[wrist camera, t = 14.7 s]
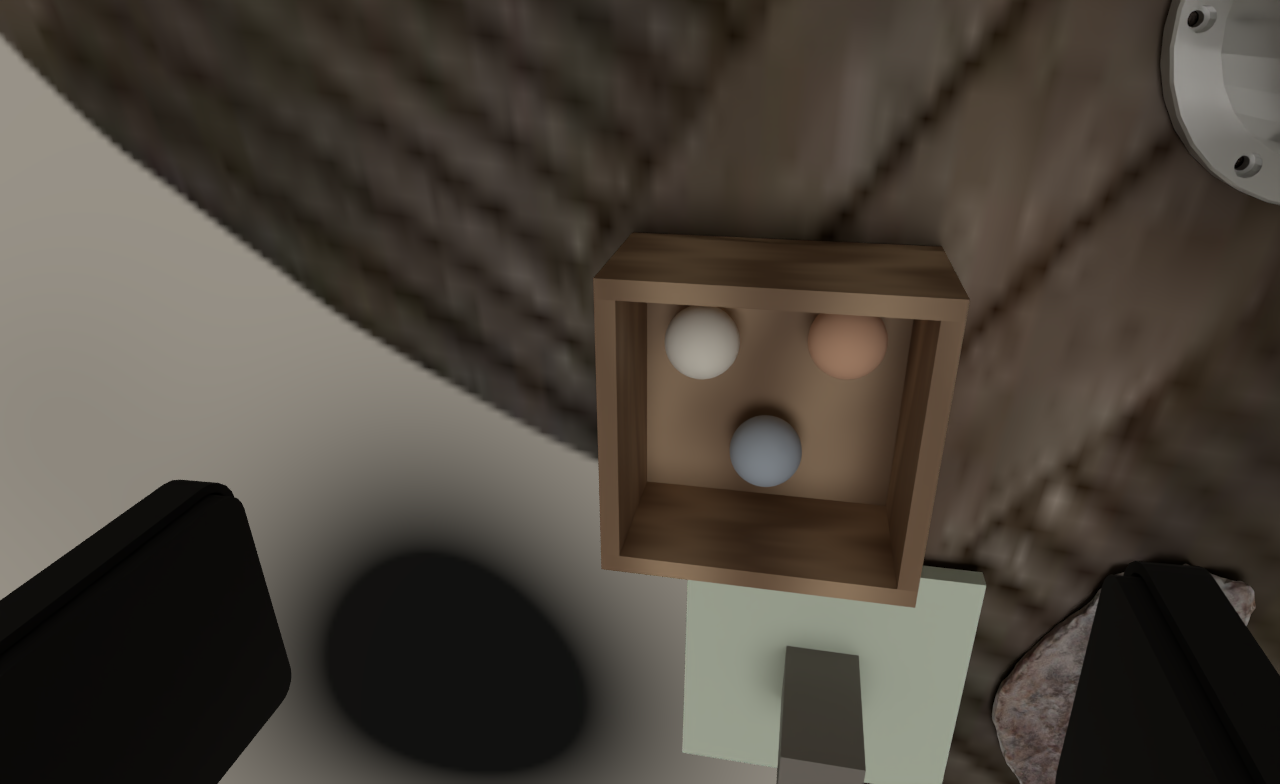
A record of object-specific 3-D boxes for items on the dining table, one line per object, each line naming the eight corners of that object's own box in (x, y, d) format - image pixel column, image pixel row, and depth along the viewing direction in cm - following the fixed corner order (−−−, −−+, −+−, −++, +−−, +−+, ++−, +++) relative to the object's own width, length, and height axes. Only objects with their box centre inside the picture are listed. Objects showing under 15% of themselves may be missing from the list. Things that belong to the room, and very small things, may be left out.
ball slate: (805, 406, 37) (804, 439, 34) (799, 467, 38) (798, 504, 35) (734, 400, 37) (727, 432, 34) (731, 461, 39) (724, 496, 36)
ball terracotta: (889, 293, 34) (896, 319, 31) (880, 364, 35) (885, 395, 32) (811, 289, 34) (810, 314, 32) (805, 359, 36) (803, 388, 33)
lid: (982, 572, 39) (1019, 698, 32) (937, 779, 45) (959, 924, 37) (691, 538, 41) (664, 648, 34) (684, 738, 47) (660, 867, 40)
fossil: (1388, 583, 37) (1038, 513, 40) (1439, 626, 34) (1053, 547, 37) (1257, 866, 42) (958, 785, 46) (1289, 927, 39) (965, 835, 42)
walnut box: (941, 246, 33) (970, 299, 27) (900, 512, 39) (915, 608, 33) (632, 232, 36) (593, 278, 29) (634, 485, 41) (601, 568, 35)
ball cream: (744, 296, 35) (738, 321, 32) (740, 364, 36) (734, 394, 34) (671, 292, 36) (659, 316, 33) (670, 359, 37) (658, 388, 34)
